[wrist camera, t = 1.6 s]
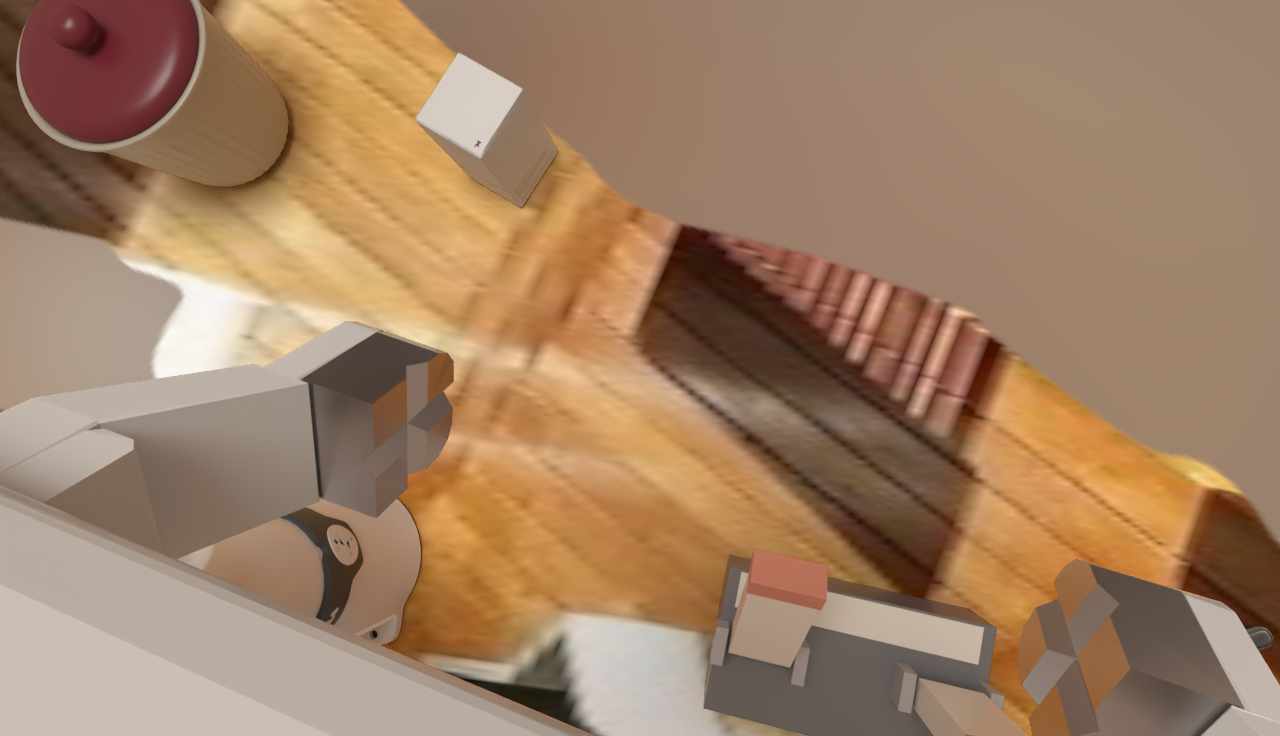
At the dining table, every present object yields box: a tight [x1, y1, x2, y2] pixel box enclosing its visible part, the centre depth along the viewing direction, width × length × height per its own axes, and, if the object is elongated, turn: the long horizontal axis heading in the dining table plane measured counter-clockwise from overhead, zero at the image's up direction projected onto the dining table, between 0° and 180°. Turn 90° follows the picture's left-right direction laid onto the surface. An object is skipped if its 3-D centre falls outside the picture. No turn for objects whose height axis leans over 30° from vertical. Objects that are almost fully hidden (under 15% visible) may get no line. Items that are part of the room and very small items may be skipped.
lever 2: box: [913, 678, 1028, 736], centre depth 48 cm, size 3×5×14 cm, turn 78°
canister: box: [16, 0, 289, 187], centre depth 64 cm, size 18×18×21 cm
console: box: [704, 555, 1005, 736], centre depth 58 cm, size 12×23×8 cm, turn 78°
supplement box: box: [415, 53, 558, 208], centre depth 64 cm, size 7×7×13 cm
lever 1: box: [727, 549, 828, 668], centre depth 52 cm, size 3×5×14 cm
